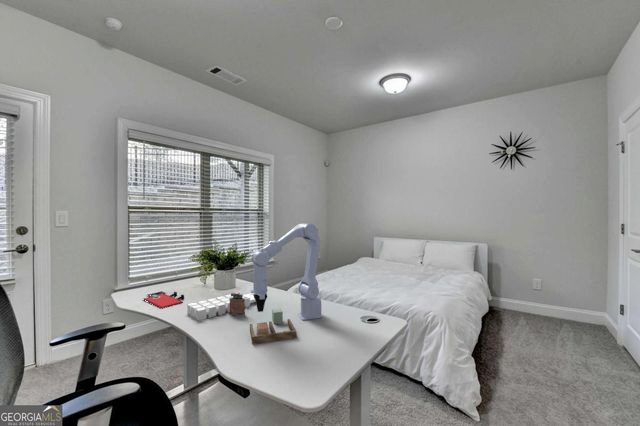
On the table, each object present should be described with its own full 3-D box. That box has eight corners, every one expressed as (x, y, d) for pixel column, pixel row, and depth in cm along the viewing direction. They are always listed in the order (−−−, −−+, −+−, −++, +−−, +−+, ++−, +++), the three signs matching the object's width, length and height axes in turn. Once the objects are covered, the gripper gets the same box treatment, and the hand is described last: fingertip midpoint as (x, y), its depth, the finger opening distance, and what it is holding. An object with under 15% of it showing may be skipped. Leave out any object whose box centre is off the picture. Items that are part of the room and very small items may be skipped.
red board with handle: (164, 292, 173) (137, 298, 161) (164, 287, 173) (137, 293, 161) (189, 302, 155) (161, 310, 143) (189, 297, 155) (160, 304, 143)
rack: (289, 324, 123) (289, 318, 123) (296, 338, 110) (296, 330, 110) (249, 330, 117) (249, 323, 117) (252, 344, 105) (252, 336, 105)
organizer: (187, 304, 137) (250, 289, 162) (187, 314, 137) (250, 298, 162) (198, 310, 127) (263, 294, 153) (198, 321, 128) (263, 303, 153)
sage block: (280, 319, 129) (280, 308, 129) (282, 322, 125) (282, 311, 125) (272, 320, 128) (272, 309, 128) (273, 323, 124) (273, 312, 124)
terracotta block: (266, 332, 115) (266, 322, 115) (268, 339, 109) (268, 327, 109) (256, 334, 114) (256, 323, 114) (258, 340, 108) (258, 329, 108)
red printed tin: (246, 313, 136) (246, 293, 136) (242, 316, 133) (242, 295, 133) (231, 311, 139) (231, 291, 138) (227, 314, 135) (227, 293, 135)
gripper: (249, 276, 126) (249, 306, 126) (252, 284, 112) (252, 318, 112) (265, 275, 128) (265, 305, 128) (269, 283, 114) (269, 316, 114)
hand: (260, 311), depth 120 cm, fingers closed
